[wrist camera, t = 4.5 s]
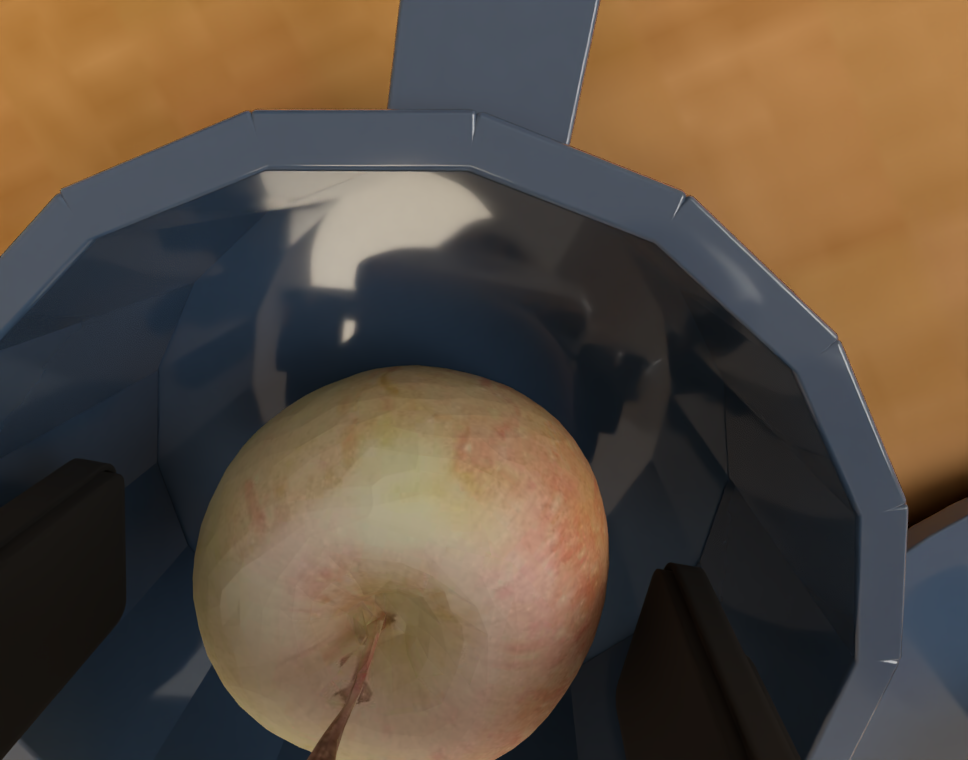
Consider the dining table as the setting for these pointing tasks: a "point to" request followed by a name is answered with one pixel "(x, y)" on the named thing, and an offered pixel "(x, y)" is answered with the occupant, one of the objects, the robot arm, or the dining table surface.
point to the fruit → (403, 568)
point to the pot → (458, 346)
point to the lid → (929, 650)
